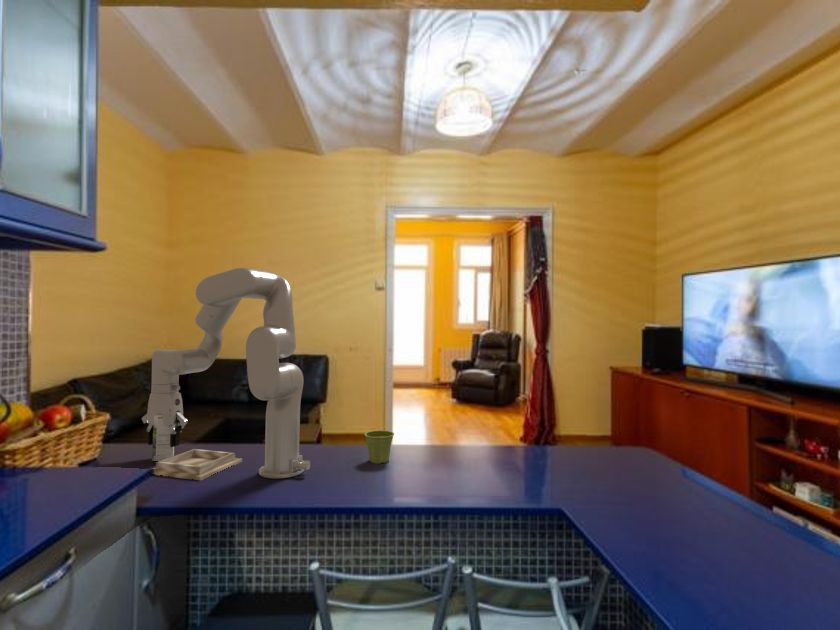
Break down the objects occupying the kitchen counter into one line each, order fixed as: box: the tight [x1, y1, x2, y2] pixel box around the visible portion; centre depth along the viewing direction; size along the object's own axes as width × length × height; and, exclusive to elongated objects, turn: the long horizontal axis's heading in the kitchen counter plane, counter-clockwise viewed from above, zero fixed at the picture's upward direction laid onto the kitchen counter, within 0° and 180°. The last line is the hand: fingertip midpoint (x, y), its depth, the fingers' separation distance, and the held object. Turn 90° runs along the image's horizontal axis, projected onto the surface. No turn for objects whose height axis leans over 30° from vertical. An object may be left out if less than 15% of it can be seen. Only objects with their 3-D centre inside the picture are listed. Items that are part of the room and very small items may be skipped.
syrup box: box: [151, 414, 176, 462], centre depth 146 cm, size 6×6×14 cm
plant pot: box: [364, 430, 395, 464], centre depth 147 cm, size 9×9×9 cm
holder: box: [152, 448, 243, 481], centre depth 138 cm, size 18×18×3 cm
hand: (163, 444), depth 146 cm, fingers closed on syrup box, 7 cm apart
